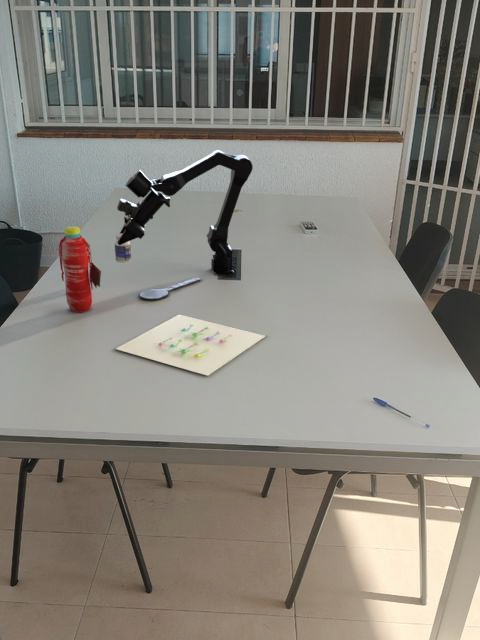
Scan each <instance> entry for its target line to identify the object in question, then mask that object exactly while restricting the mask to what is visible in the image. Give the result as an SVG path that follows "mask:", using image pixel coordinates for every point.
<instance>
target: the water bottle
mask: <svg viewBox="0 0 480 640" xmlns="http://www.w3.org/2000/svg"><path fill="white" fill-rule="evenodd" d="M58 254H59V255H58V256H59V265H60V266H59V267H60V270H61V280H62V282H64V281H65V297H66V298H65V299H66V303H67V305H68V307H69V309H70V311H72V312H73V313H84V312H88V311H89V310H90V309H91V308H92V304H93V293H92V291H93V290H94V289H93V288H94V287H95V289H97V288H100V287H101V275H102V270H100V268H98V267H97V266H96V265H95V264H94V262H93V258H92V251H91V243H89V242H87V240H86V239H85V238H84V237H83V236H82V235H81V229H80V227H78V226H68V227H65V229H64V236H63V237H62V238H61V239H60V241H59V244H58ZM64 279H65V280H64ZM93 286H94V287H93Z"/></svg>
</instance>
